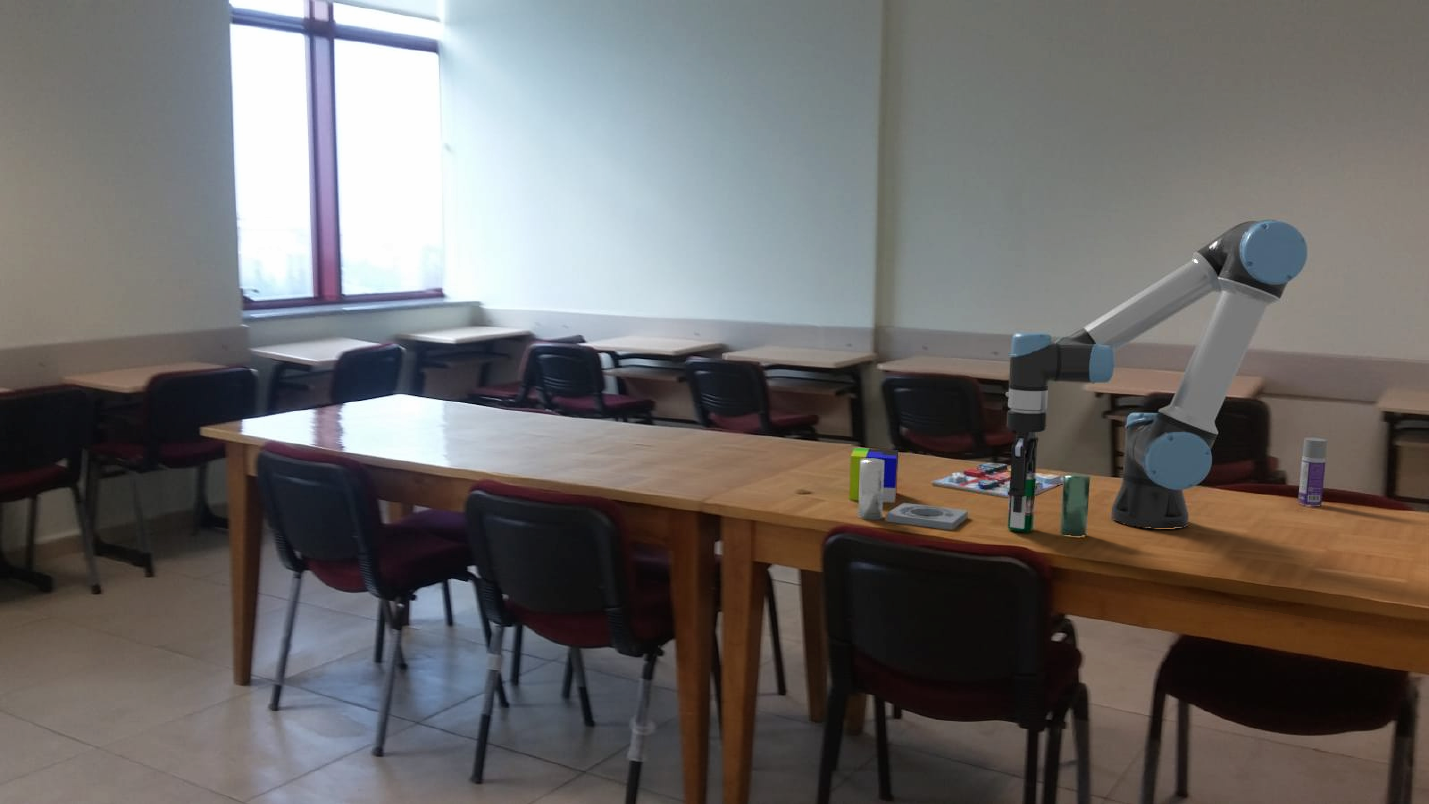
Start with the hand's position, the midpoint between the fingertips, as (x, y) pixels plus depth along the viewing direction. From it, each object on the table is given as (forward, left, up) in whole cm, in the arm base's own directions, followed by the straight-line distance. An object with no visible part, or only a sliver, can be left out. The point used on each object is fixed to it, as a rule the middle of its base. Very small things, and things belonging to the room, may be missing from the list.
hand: (1020, 524), depth 230 cm
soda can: (0, 0, -1) cm, 1 cm away
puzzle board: (+14, -45, -2) cm, 47 cm away
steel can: (+30, +5, -1) cm, 30 cm away
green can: (-10, -2, -1) cm, 10 cm away
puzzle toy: (+36, -14, -2) cm, 39 cm away
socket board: (+19, +1, -1) cm, 19 cm away
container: (-52, -58, -1) cm, 78 cm away
